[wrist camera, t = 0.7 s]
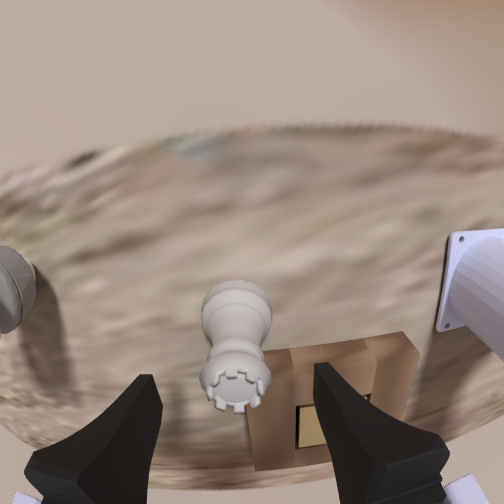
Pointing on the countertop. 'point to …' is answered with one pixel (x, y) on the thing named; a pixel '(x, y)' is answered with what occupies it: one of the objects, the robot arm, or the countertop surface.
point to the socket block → (301, 392)
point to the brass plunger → (309, 426)
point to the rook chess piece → (236, 345)
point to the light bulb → (15, 288)
